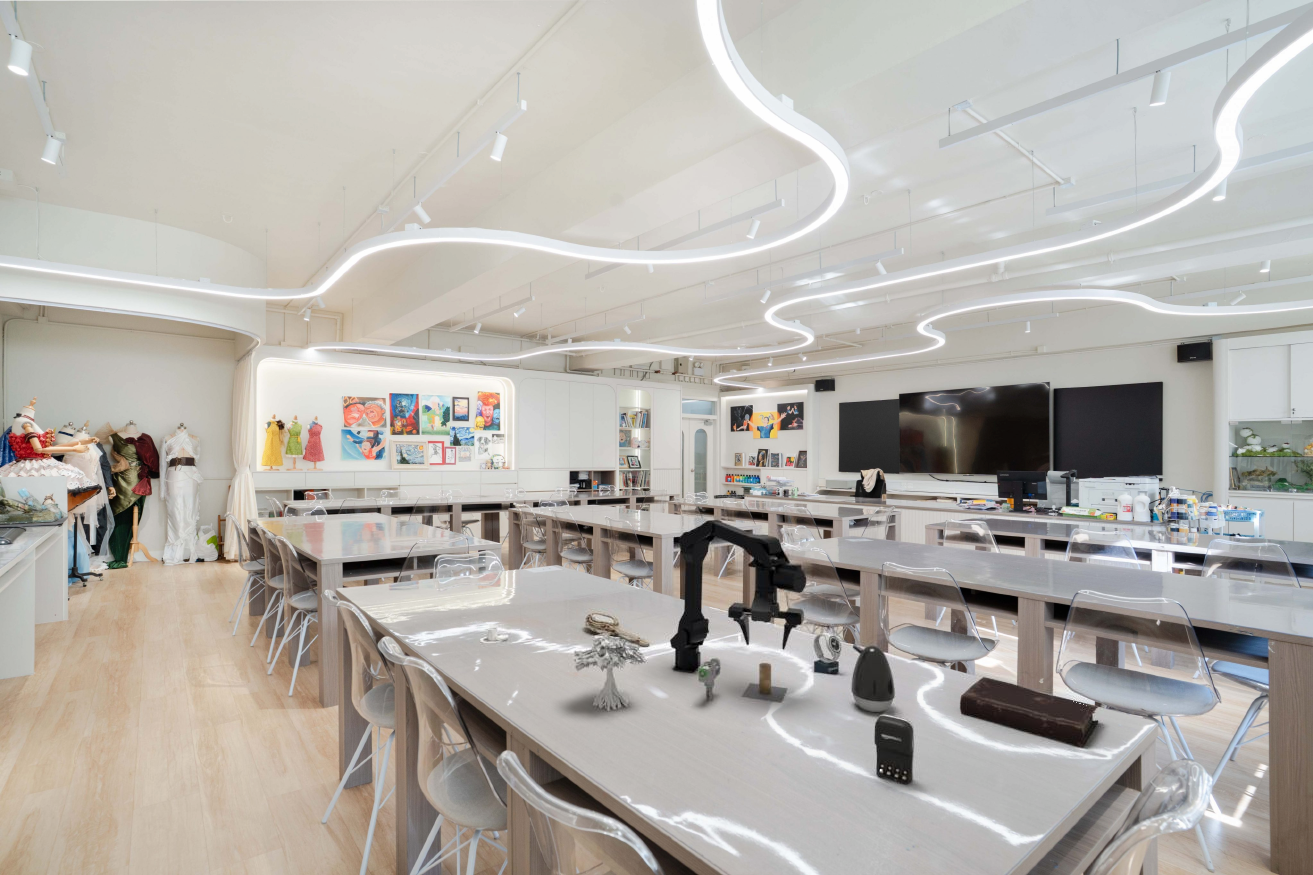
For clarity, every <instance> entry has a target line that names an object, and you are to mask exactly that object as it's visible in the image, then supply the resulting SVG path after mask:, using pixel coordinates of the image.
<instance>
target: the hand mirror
mask: <svg viewBox="0 0 1313 875" xmlns="http://www.w3.org/2000/svg"><path fill="white" fill-rule="evenodd" d="M584 625H585V627H586V628H587V629H589V630H591V631H592V632H595V633H598V634H601V633H602V634H604V633H605V634H606V633H608V634H611V635H610V636H616V635H621V636H625V637H627V638H628V639H629V640H631V641H633V642H637V643H638V645H639V646H640V647H641V646H642V647H649V646H650V641H649V640H647V639H645V638H641V637H639V636H637V635H634V634H632V633H629V632H627V631H626V630H624V629H623V628H622V627H621V626H620V622H619V620H618V619H617V618H616V617H615V616H613V615H610V614H605V613H602V612H596V611H595V612H590V613H589V614H588V615H587V616H586V618H585V622H584Z"/></svg>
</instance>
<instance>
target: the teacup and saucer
mask: <svg viewBox="0 0 1313 875" xmlns="http://www.w3.org/2000/svg"><path fill="white" fill-rule="evenodd" d="M486 631H487V633H486ZM484 635H485V636H484V637H482V638H480V639H479V642H480V643H482V644H483V643H484V644H498V643H501V642H504V641H506V640H507V639H508V638H509V635H508V634H501V635H498V627H496V626H495V627H494V626H493V627H492V626H491V627H488V628H486V629H485V630H484ZM485 639H488V641H485ZM496 640H497V641H496ZM489 641H491V642H489ZM492 641H493V642H492Z"/></svg>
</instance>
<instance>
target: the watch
mask: <svg viewBox="0 0 1313 875" xmlns="http://www.w3.org/2000/svg"><path fill="white" fill-rule="evenodd" d="M822 636H824V639H825V647H826V648H827V650H828V651H829V653H830V655H831V657H832V658H828V657H825V656H824V655H825V654H824V651H823V649H822V646H821V643H820V638H821V637H822ZM812 645H813V649H814V652H815V655H816V656H817V658H818V660H815V661H813V673H816V674H823V675H825V674H826V675H832V676H833V675H836V674H839V673H840V670H839V668H840V667H839V666H840V665H839V663H840V662H839V661H838V659H839V657H840V655H841V652H842V644H841V641H840V640H839V638H838V637H836V636H835V635H833V634H832V633H829V632H822V633H819V634H817V635H816V636H815V637H814V639H813V644H812Z"/></svg>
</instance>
